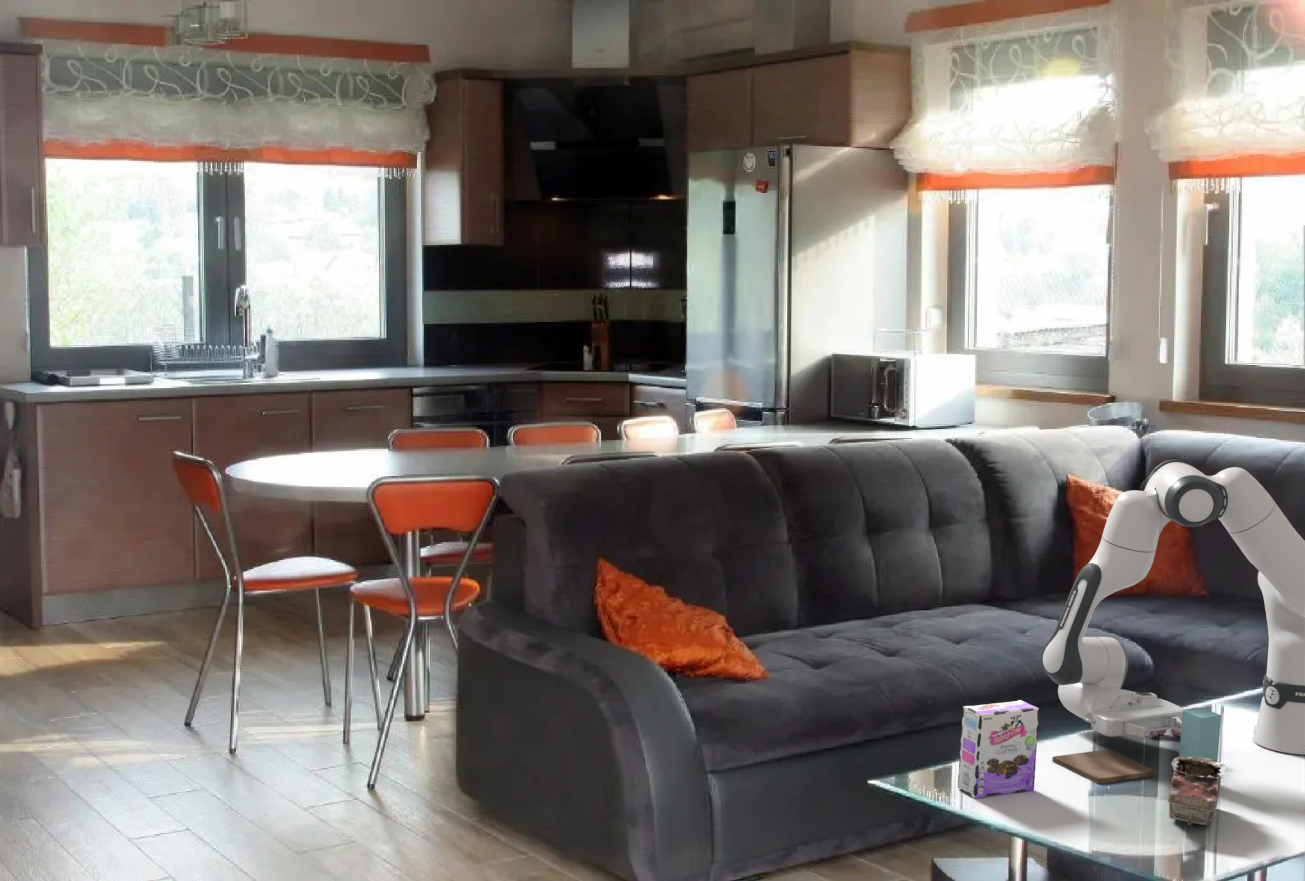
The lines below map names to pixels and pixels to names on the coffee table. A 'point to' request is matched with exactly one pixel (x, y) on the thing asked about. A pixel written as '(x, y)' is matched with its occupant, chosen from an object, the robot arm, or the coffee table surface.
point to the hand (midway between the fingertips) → (1165, 730)
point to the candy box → (998, 749)
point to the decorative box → (1195, 789)
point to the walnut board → (1103, 766)
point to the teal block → (1200, 734)
